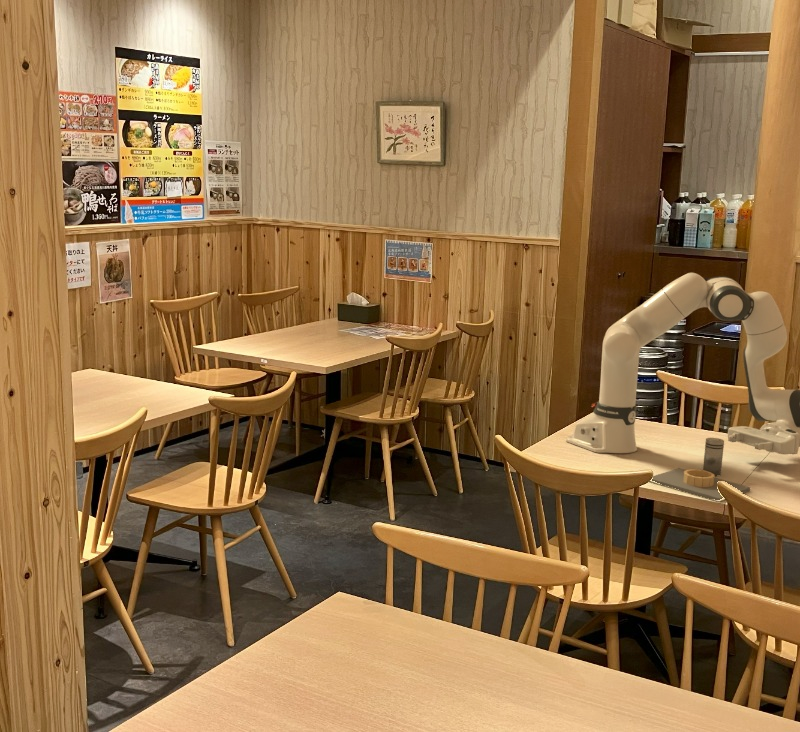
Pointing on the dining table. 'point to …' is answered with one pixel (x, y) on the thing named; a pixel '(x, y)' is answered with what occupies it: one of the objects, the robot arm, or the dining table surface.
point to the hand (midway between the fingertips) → (743, 442)
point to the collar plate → (699, 491)
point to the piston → (713, 455)
